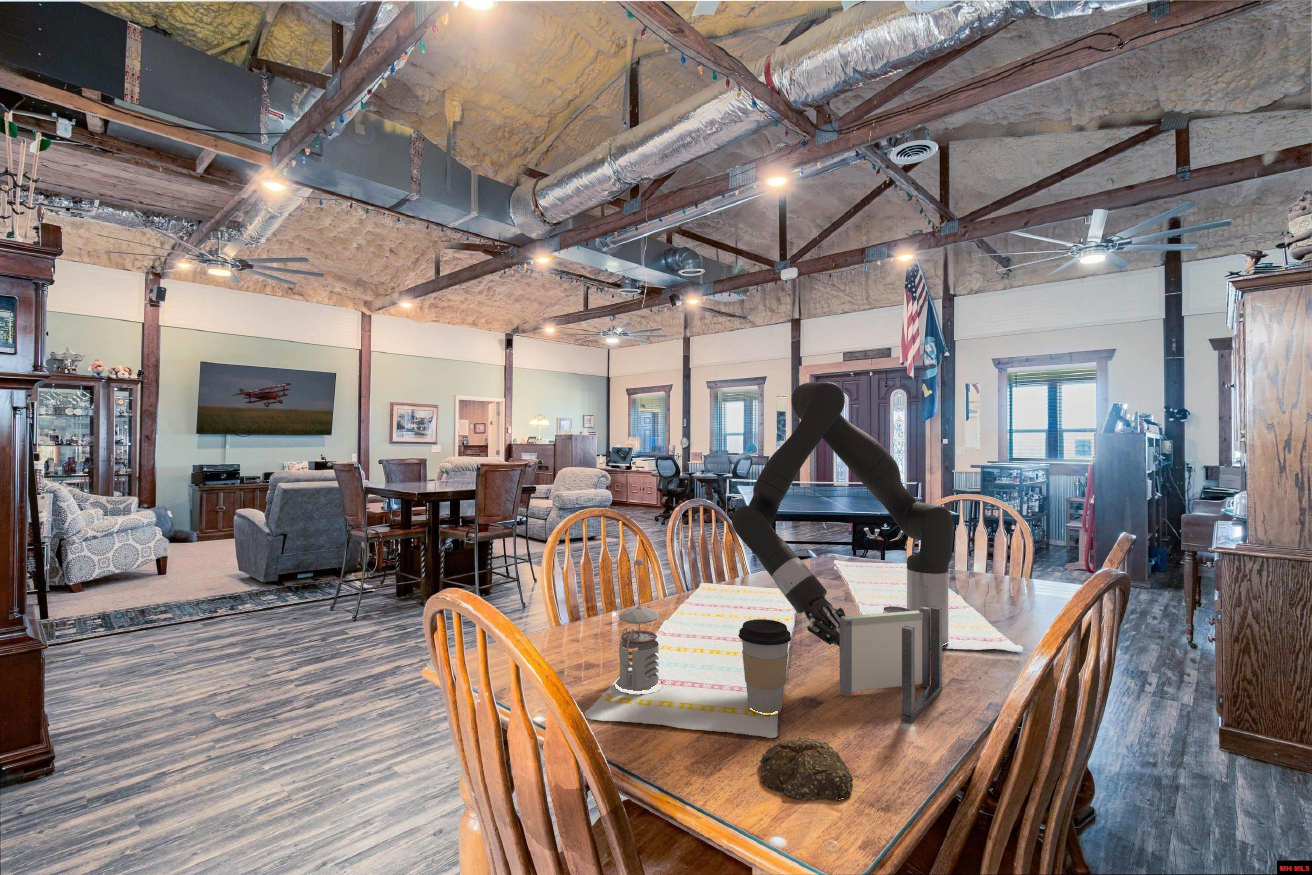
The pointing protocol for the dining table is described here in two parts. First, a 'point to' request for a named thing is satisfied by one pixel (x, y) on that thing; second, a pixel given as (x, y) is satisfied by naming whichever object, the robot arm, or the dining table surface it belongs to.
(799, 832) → the dining table surface
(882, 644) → the gate
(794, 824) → the dining table surface
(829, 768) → the bread roll
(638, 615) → the french press
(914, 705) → the gate frame
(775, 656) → the coffee cup
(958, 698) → the dining table surface
